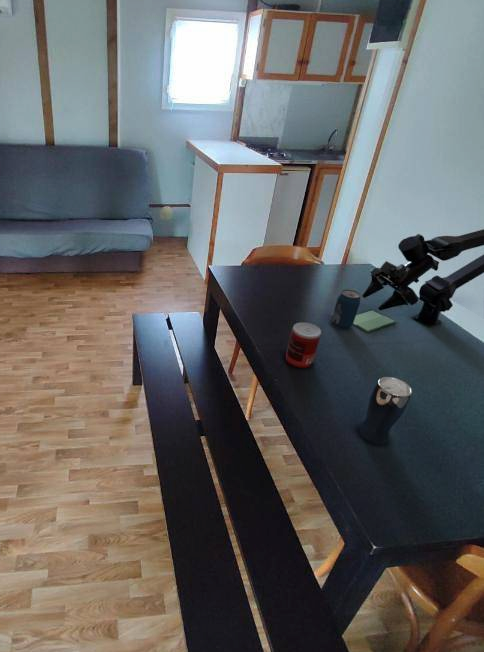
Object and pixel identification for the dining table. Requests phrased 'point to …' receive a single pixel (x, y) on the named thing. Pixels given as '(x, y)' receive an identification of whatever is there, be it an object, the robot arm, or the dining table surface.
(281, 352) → the dining table surface
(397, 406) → the beer glass
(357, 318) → the cloth
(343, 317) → the soda can
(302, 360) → the canned food
